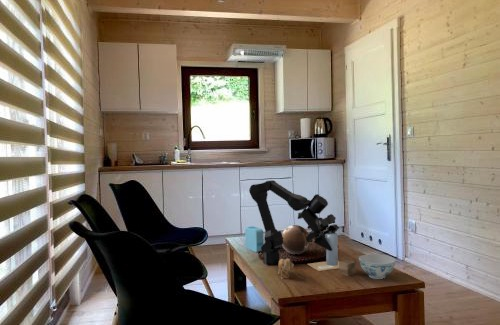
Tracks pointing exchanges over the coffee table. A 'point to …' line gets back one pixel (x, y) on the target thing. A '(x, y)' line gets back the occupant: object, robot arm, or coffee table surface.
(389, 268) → the chinaware
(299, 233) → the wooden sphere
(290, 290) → the coffee table surface
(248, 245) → the data package
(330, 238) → the grey cylinder
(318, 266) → the envelope
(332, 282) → the coffee table surface
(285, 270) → the lion figurine
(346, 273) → the walnut block
